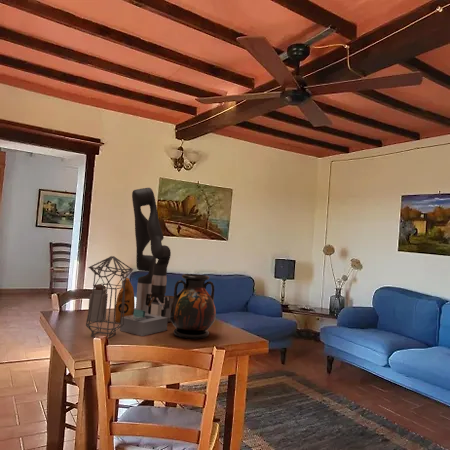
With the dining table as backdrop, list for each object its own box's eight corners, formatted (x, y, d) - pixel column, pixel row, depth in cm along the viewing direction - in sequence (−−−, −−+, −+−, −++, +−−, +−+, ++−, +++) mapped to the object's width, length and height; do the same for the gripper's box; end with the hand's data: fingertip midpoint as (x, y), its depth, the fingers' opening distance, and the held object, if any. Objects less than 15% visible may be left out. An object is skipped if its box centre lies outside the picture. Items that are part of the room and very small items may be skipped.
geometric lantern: (96, 330, 185) (104, 254, 187) (128, 334, 182) (136, 257, 184) (77, 337, 170) (87, 254, 171) (112, 342, 167) (121, 258, 168)
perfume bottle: (105, 319, 207) (108, 284, 208) (100, 322, 201) (103, 286, 201) (93, 318, 208) (96, 283, 209) (87, 321, 201) (90, 285, 202)
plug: (155, 322, 210) (157, 301, 210) (162, 323, 208) (164, 302, 208) (149, 323, 206) (151, 301, 207) (156, 325, 204) (158, 303, 204)
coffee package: (111, 323, 200) (115, 279, 201) (116, 318, 212) (119, 276, 213) (132, 324, 201) (135, 280, 202) (135, 319, 213) (138, 277, 214)
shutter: (134, 316, 190) (135, 308, 190) (145, 319, 186) (146, 311, 186) (124, 318, 184) (125, 310, 185) (135, 321, 181) (136, 312, 181)
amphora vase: (171, 341, 174) (176, 276, 175) (165, 329, 195) (169, 271, 196) (219, 341, 180) (224, 278, 181) (208, 330, 201) (212, 273, 202)
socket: (145, 325, 202) (146, 313, 202) (166, 330, 194) (167, 317, 194) (119, 330, 187) (120, 317, 187) (142, 336, 180) (143, 322, 180)
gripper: (143, 282, 208) (141, 314, 208) (164, 286, 201) (162, 318, 200) (153, 281, 215) (151, 312, 214) (174, 285, 207) (172, 316, 206)
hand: (156, 315), depth 207 cm, fingers open, 8 cm apart
